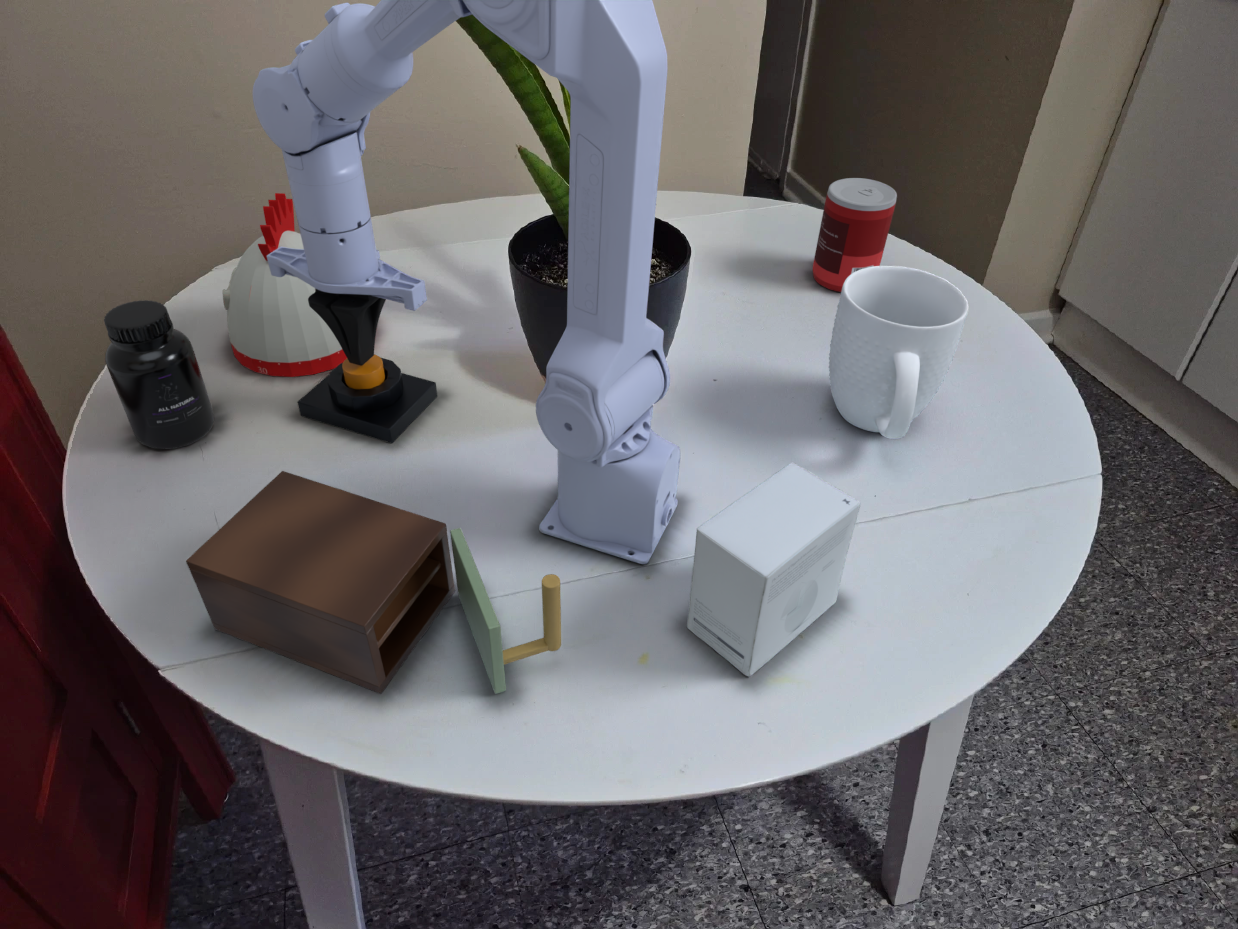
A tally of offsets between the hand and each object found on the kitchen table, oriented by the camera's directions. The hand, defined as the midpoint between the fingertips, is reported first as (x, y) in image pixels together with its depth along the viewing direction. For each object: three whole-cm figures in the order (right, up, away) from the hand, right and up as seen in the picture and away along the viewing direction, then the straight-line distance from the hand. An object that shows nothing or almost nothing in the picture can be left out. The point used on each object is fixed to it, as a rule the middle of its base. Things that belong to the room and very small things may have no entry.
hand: (361, 358), depth 79 cm
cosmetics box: (+34, -21, -14) cm, 43 cm away
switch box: (0, -4, +4) cm, 5 cm away
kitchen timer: (-10, +3, +12) cm, 16 cm away
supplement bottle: (-17, -6, 0) cm, 18 cm away
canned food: (+51, +13, +26) cm, 58 cm away
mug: (+48, -5, +5) cm, 49 cm away
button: (0, -2, +2) cm, 2 cm away
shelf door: (+16, -22, -17) cm, 32 cm away
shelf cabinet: (+3, -20, -15) cm, 26 cm away
